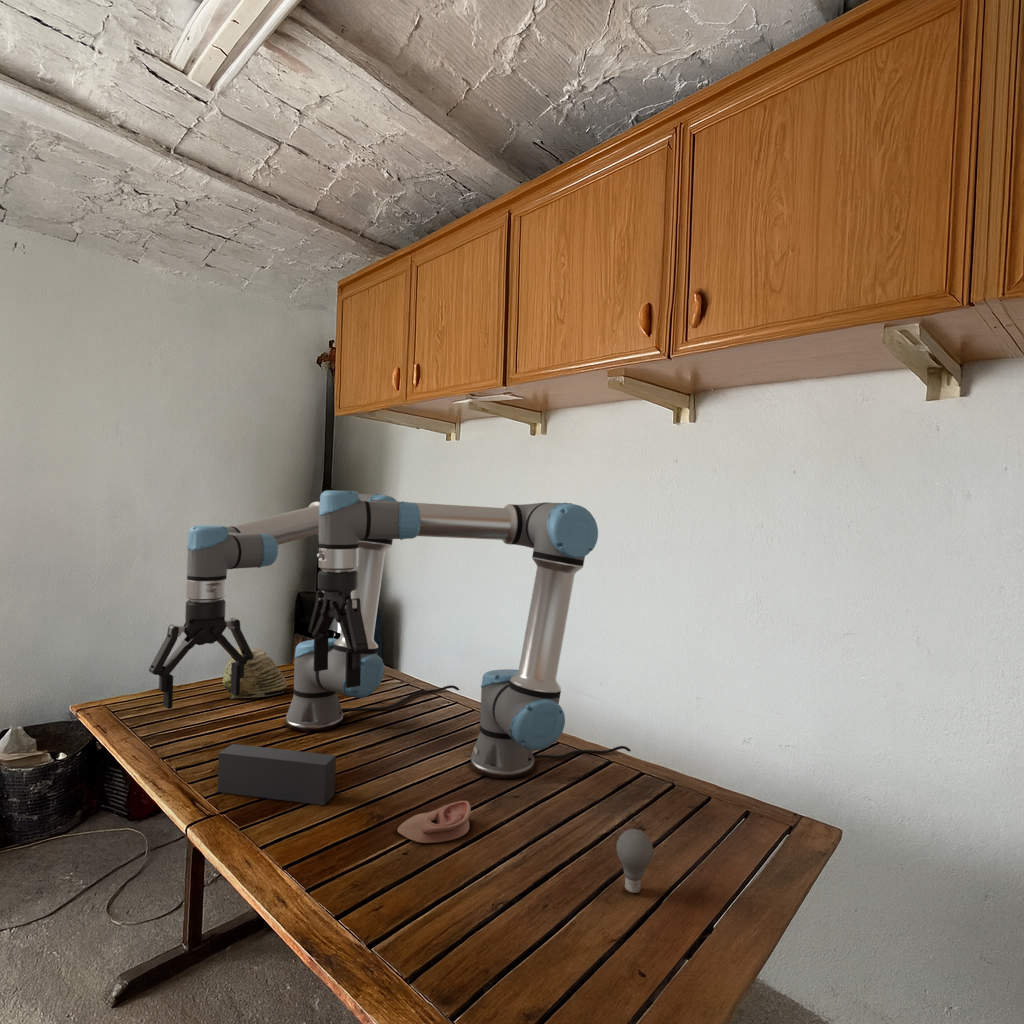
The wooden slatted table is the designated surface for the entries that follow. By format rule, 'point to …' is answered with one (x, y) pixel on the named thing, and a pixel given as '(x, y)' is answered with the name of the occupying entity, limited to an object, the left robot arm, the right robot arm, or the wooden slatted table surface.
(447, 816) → the anatomical model
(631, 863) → the light bulb
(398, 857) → the wooden slatted table surface
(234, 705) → the wooden slatted table surface
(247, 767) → the bar
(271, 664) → the fossil
